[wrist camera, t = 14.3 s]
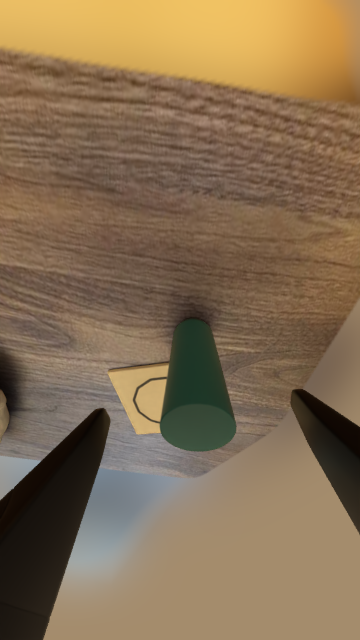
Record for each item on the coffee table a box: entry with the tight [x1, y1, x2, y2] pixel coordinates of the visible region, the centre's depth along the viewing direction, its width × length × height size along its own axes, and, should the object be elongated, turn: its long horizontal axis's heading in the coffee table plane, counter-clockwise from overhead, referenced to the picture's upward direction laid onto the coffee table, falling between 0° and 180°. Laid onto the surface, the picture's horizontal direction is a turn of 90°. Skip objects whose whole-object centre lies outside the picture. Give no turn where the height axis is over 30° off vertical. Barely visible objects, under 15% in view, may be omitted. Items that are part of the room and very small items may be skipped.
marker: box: [160, 318, 236, 452], centre depth 11 cm, size 3×3×8 cm
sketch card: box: [107, 363, 169, 434], centre depth 18 cm, size 10×10×1 cm
